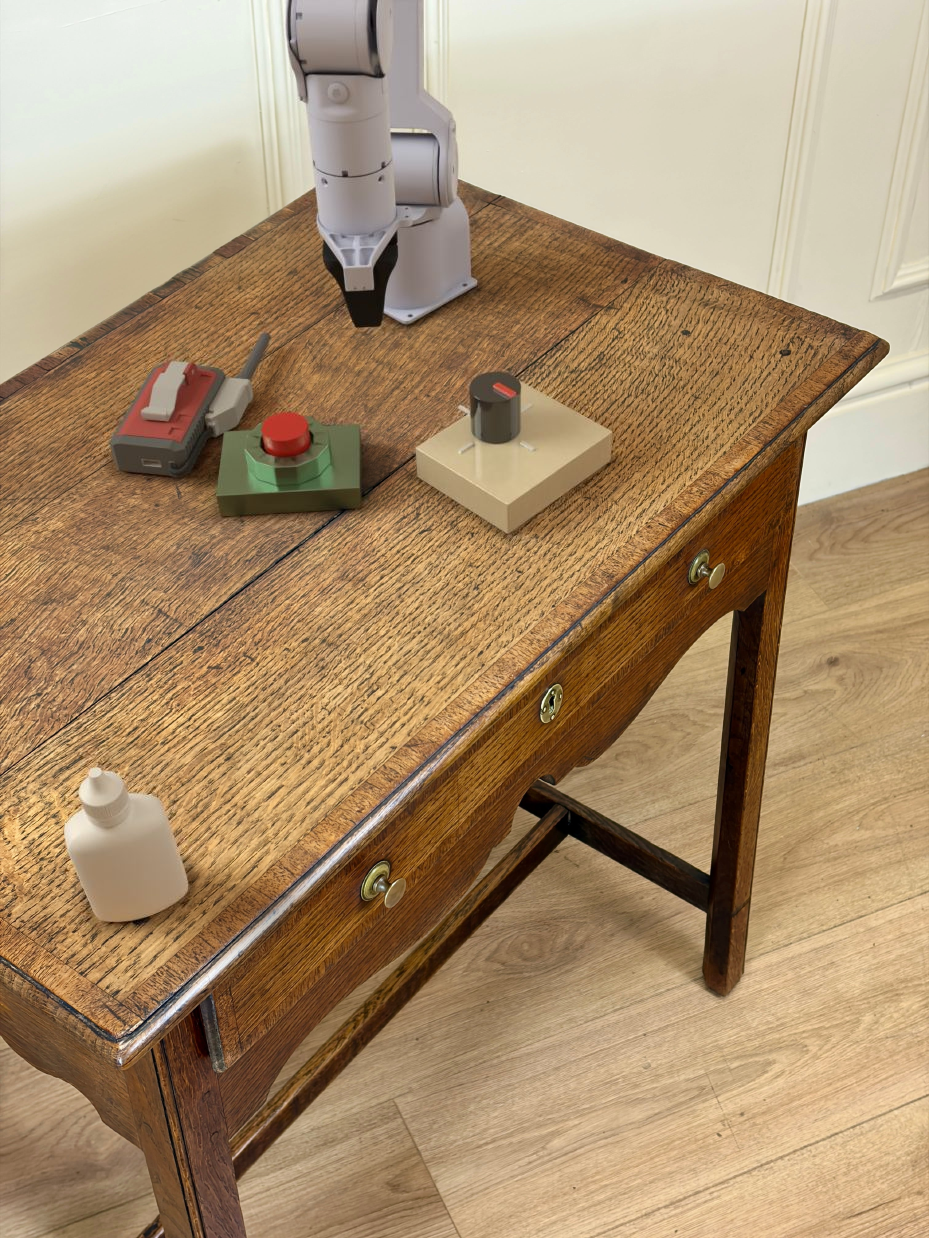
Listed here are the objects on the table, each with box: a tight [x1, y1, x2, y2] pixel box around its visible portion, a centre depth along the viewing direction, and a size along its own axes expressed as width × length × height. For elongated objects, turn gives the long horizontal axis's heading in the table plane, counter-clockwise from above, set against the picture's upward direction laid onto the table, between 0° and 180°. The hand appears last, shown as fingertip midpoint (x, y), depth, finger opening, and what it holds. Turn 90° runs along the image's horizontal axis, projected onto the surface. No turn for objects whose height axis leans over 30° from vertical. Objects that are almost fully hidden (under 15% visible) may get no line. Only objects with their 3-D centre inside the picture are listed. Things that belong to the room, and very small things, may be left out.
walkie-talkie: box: [108, 332, 272, 479], centre depth 109 cm, size 9×4×20 cm
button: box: [261, 411, 311, 458], centre depth 101 cm, size 4×4×2 cm
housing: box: [215, 415, 363, 517], centre depth 102 cm, size 11×8×4 cm
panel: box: [414, 380, 613, 535], centre depth 103 cm, size 12×11×3 cm
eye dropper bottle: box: [63, 766, 189, 923], centre depth 73 cm, size 4×6×12 cm
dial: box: [468, 371, 521, 444], centre depth 101 cm, size 4×4×4 cm
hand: (367, 322), depth 102 cm, fingers closed
